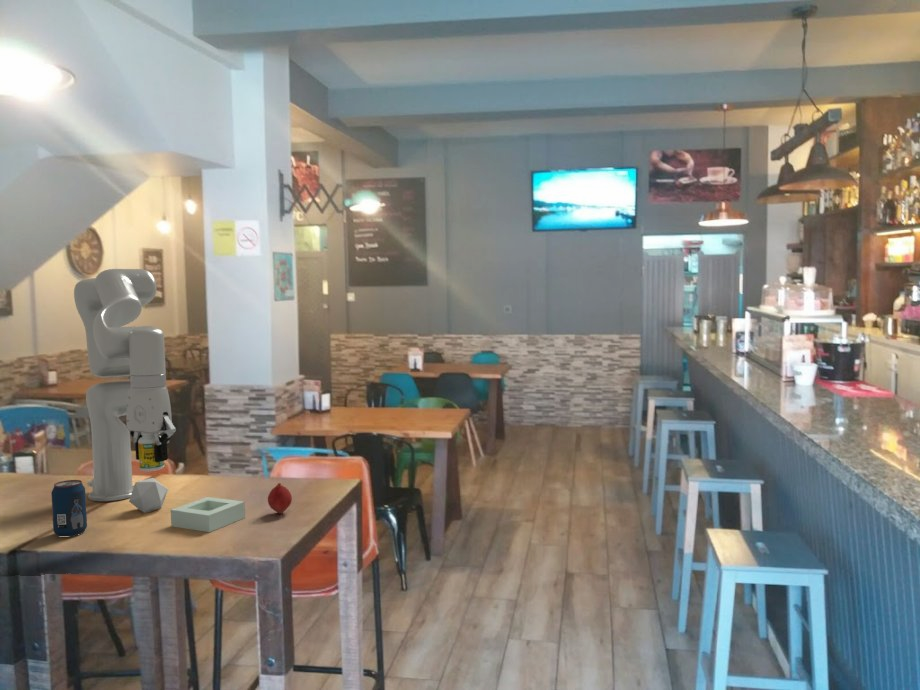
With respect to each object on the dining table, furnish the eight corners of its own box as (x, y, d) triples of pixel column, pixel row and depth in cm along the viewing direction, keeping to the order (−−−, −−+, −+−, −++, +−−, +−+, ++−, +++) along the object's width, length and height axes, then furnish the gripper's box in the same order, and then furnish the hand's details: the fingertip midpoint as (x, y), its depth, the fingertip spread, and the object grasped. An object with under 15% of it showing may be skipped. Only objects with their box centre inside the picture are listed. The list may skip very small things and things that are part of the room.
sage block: (171, 526, 174) (170, 509, 174) (208, 512, 185) (207, 496, 185) (209, 532, 169) (209, 515, 169) (245, 517, 180) (244, 501, 180)
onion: (263, 514, 183) (262, 482, 182) (283, 508, 187) (282, 478, 186) (276, 518, 179) (275, 486, 178) (296, 513, 183) (295, 481, 182)
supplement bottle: (162, 465, 173) (160, 425, 172) (166, 469, 168) (164, 428, 167) (137, 468, 170) (135, 427, 169) (141, 472, 165) (139, 431, 164)
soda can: (64, 528, 173) (61, 479, 172) (93, 528, 173) (90, 479, 172) (47, 538, 166) (44, 487, 166) (77, 538, 166) (74, 486, 165)
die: (168, 514, 186) (176, 479, 191) (138, 504, 180) (147, 468, 185) (150, 521, 190) (158, 486, 195) (119, 511, 184) (129, 476, 190)
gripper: (108, 382, 168) (112, 459, 169) (162, 386, 160) (165, 467, 162) (136, 378, 175) (139, 453, 176) (188, 381, 167) (191, 459, 168)
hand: (151, 459), depth 169 cm, fingers closed on supplement bottle, 5 cm apart
